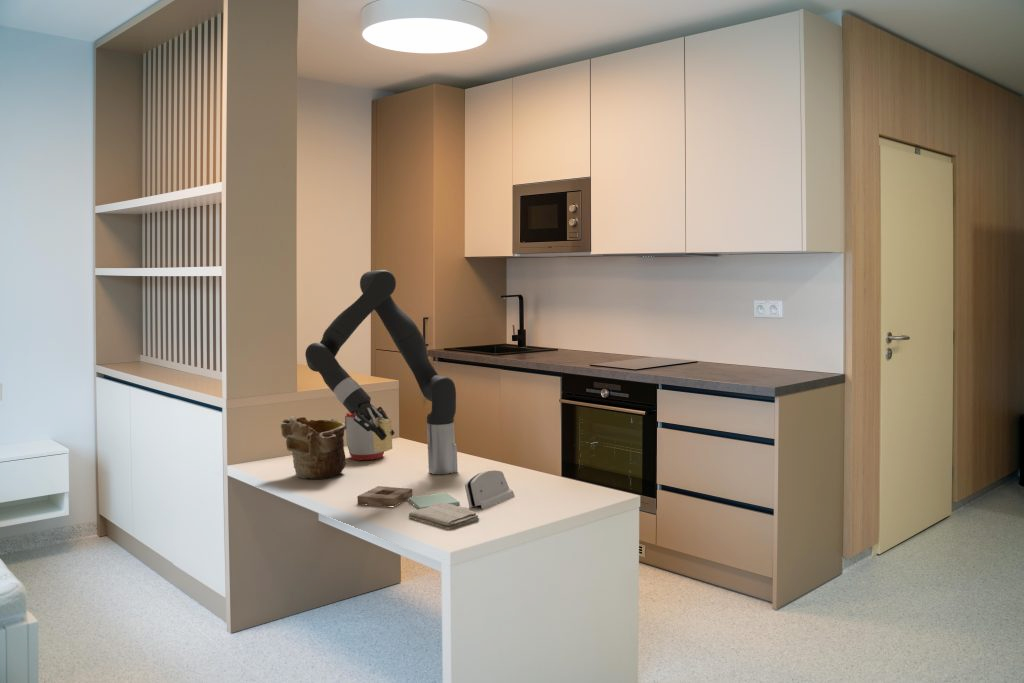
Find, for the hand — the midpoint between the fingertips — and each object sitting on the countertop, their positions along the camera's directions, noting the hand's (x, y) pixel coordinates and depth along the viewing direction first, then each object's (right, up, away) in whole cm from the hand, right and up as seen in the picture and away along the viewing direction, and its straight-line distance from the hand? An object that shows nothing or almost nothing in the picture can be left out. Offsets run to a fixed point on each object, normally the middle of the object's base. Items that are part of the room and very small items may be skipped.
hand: (388, 436), depth 247 cm
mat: (+14, -19, -2) cm, 24 cm away
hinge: (+30, -19, -2) cm, 36 cm away
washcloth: (+18, -21, -19) cm, 34 cm away
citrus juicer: (-18, -16, +63) cm, 68 cm away
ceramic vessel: (-28, -18, +36) cm, 49 cm away
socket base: (-1, -20, +2) cm, 20 cm away
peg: (-2, -4, +1) cm, 5 cm away
